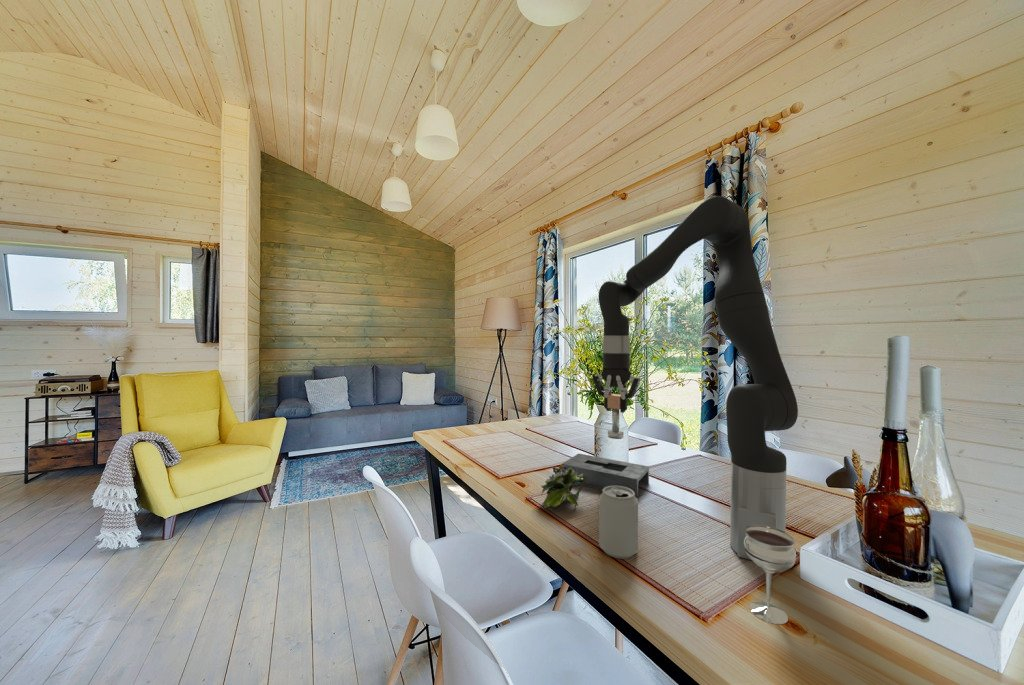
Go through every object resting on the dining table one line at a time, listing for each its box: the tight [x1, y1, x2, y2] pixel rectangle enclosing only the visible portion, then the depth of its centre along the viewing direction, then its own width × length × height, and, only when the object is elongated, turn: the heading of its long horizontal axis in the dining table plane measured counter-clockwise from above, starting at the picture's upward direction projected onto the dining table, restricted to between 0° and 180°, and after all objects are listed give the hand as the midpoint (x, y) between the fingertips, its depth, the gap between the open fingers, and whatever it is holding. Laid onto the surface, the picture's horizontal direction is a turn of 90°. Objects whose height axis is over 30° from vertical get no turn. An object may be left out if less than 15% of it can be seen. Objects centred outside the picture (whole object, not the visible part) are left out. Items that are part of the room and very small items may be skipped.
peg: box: [607, 393, 625, 440], centre depth 111 cm, size 4×4×12 cm
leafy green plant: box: [540, 465, 587, 511], centre depth 98 cm, size 11×11×12 cm
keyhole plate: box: [561, 453, 650, 499], centre depth 113 cm, size 12×22×5 cm, turn 56°
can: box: [598, 486, 639, 560], centre depth 77 cm, size 8×8×12 cm
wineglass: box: [744, 525, 797, 625], centre depth 60 cm, size 7×7×12 cm
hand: (615, 411), depth 111 cm, fingers closed on peg, 3 cm apart
